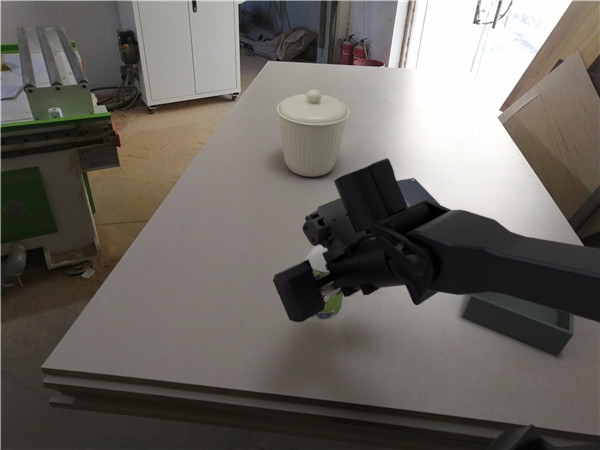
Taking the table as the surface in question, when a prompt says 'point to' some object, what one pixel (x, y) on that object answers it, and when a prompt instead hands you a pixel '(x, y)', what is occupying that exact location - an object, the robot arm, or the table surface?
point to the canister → (311, 132)
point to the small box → (414, 191)
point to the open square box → (521, 320)
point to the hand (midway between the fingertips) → (314, 274)
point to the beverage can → (334, 297)
